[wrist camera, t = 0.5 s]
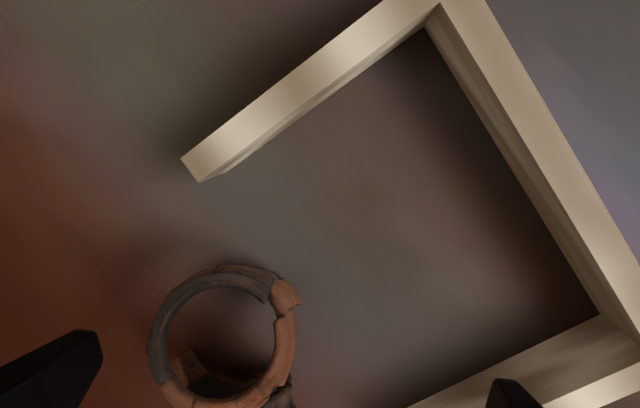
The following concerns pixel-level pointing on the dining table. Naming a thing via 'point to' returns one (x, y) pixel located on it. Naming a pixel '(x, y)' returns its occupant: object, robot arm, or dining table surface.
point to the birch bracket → (524, 160)
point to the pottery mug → (202, 388)
